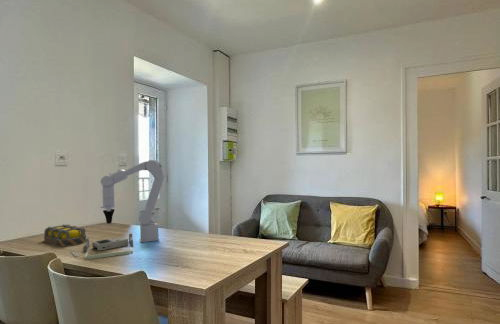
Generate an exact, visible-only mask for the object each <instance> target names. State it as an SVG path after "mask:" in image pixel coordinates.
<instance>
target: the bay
mask: <svg viewBox="0 0 500 324" xmlns="http://www.w3.org/2000/svg"><path fill="white" fill-rule="evenodd" d="M133 252H134V251H133V246H130V247H129V250H122V251H115V252H105V253H98V254H97V253H96V254H90V255H89V252H88V251H87V252H85V255H84V260H87V259H88V260H93V259H100V258H106V257H108V258H109V257H115V256H116V255H117V256H124V255H130V254H133Z"/></svg>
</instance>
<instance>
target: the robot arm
mask: <svg viewBox="0 0 500 324" xmlns="http://www.w3.org/2000/svg"><path fill="white" fill-rule="evenodd" d="M140 171H148V172H149V173H150V174H151V176H152V177H153V178H154V179H153V181H152V185H151V189H150V192H149V195H148V198H147V201H146V204H145V205H144V208H143V211H142V212H141V214H140V215H139V217H138V220H139V222H140V224H139V225H140V226H139V232H140V233H139V234H140V238H139V243H146V242H154V241H159V240H160V239H159V224H158V223H157V222H156V223H155V222H154V219H155V208H156V205H157V202H158V197H159V195H160V192H161V189H162V186H163V184H164V183H163V182H164V180H165V174H164V171H163V166H162V164H161V163H160V162H159V161H158V160H155V159H149V160H148V161H143V162H140V163H139V164H136V165H134V166H132V167H130V168H127V169H126V170H125V169H120V168H119V169H117V171H115V172H112V173H109V174H108V175H104V176H103V177H102V178H101V179H100V184H101V185H102V206H100V209H103V210H102V212H103V214H104V216H105V221H106V224H107V225H108V224H112V222H113V215H114V212H115V209H114V208H115V184H118V183H120V182H123V181H125V180H127V179H128V177H129V176H131V175H133V174H135V173H139V172H140Z"/></svg>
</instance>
